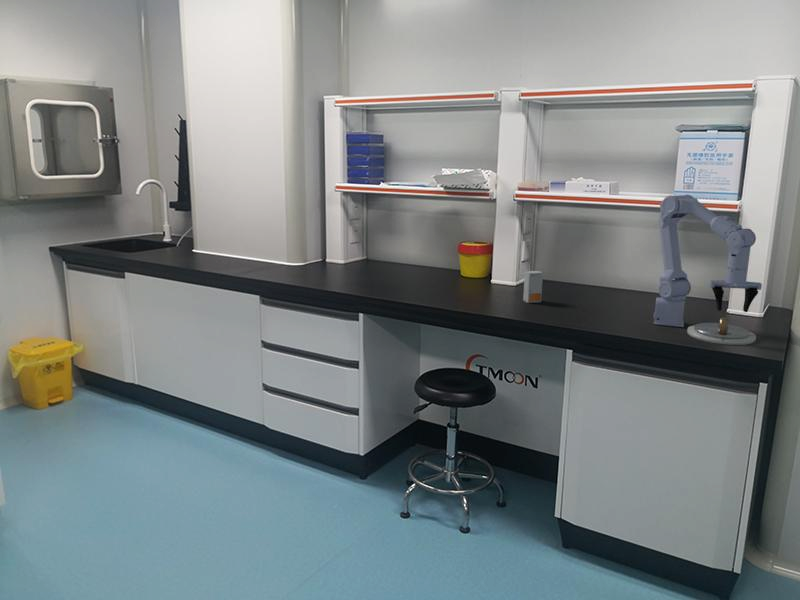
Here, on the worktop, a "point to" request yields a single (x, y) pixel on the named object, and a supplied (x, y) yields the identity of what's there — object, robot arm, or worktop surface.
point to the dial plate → (741, 341)
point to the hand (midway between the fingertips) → (732, 310)
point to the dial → (721, 330)
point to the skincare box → (533, 286)
